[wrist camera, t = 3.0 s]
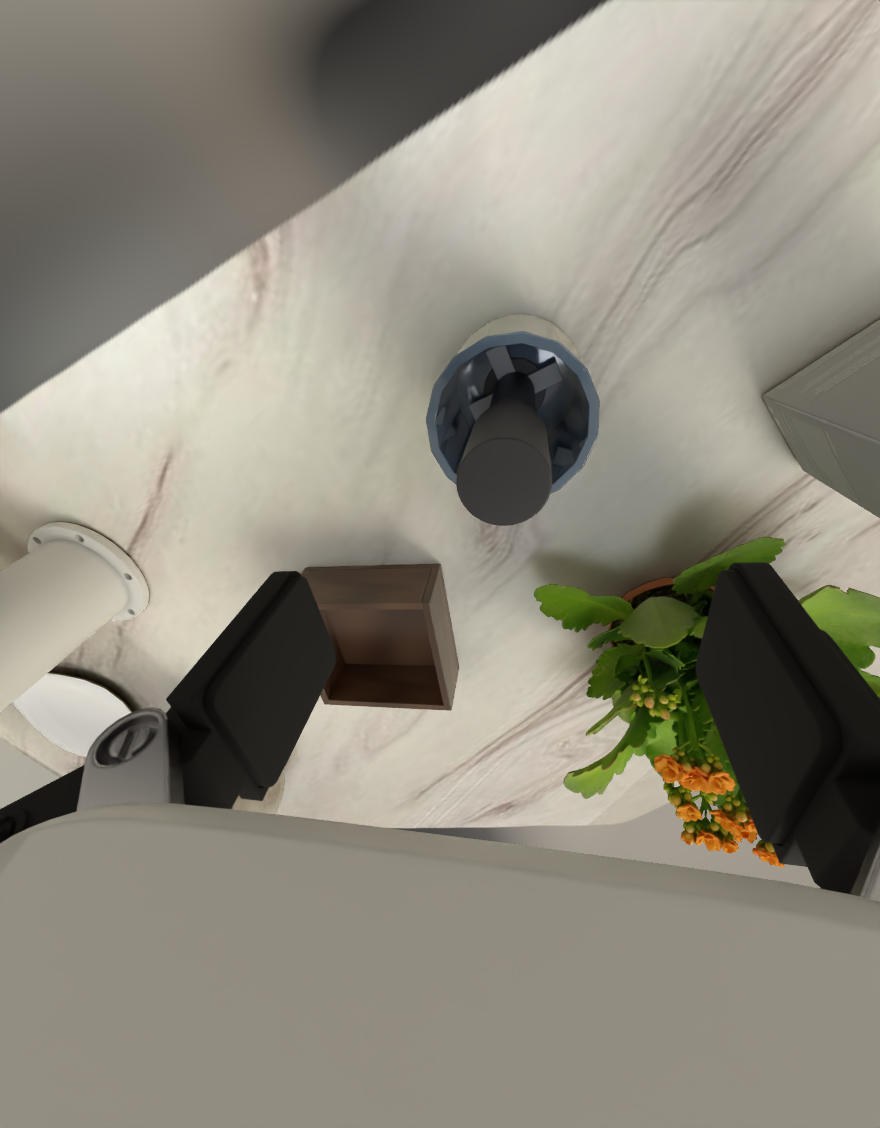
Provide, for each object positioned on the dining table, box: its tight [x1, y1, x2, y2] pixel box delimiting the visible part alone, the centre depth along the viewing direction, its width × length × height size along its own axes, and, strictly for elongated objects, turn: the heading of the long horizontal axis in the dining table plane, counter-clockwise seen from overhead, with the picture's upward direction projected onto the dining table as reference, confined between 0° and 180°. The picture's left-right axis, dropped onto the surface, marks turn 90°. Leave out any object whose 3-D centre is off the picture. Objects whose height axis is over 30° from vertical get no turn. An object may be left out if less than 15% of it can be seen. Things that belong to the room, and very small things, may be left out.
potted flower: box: [534, 537, 880, 867], centre depth 30 cm, size 25×24×18 cm
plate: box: [12, 672, 133, 757], centre depth 65 cm, size 22×22×2 cm
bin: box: [301, 564, 459, 710], centre depth 42 cm, size 13×13×6 cm
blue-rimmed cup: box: [426, 314, 600, 494], centre depth 26 cm, size 9×9×9 cm
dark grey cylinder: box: [456, 346, 563, 526], centre depth 22 cm, size 6×6×15 cm
